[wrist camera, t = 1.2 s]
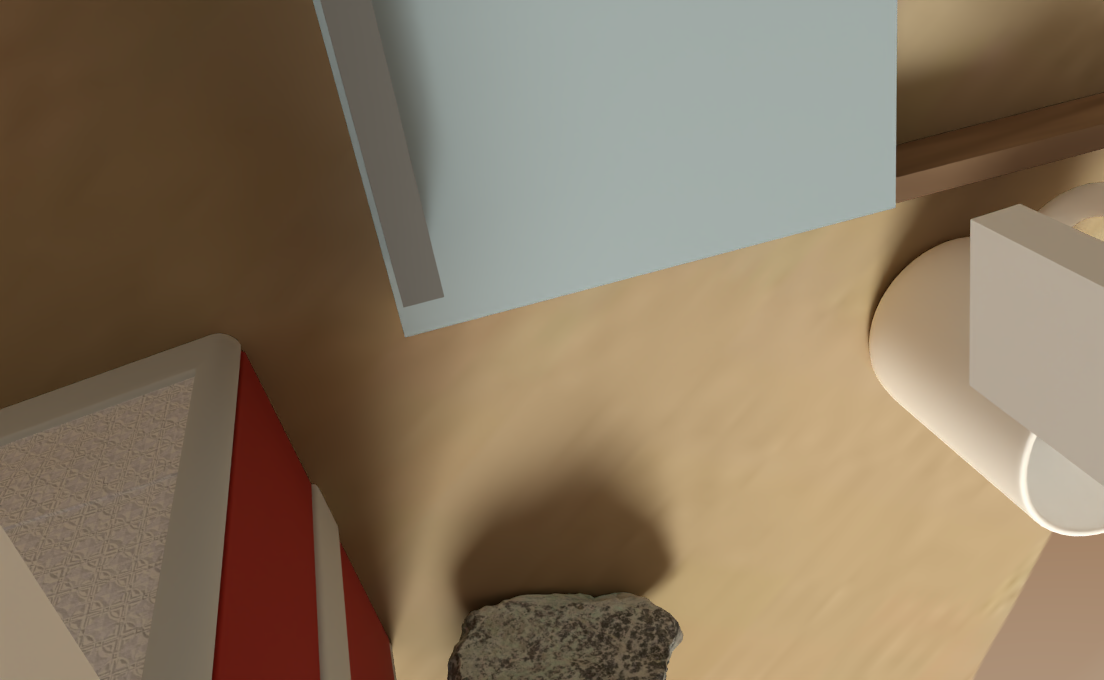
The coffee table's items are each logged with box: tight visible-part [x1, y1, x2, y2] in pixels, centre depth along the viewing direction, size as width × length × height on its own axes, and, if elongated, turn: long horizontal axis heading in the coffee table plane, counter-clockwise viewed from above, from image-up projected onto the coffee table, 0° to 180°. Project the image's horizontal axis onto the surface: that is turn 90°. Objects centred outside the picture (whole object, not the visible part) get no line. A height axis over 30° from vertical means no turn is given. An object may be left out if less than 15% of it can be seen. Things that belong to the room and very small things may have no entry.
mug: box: [869, 182, 1104, 536], centre depth 37 cm, size 12×8×10 cm
